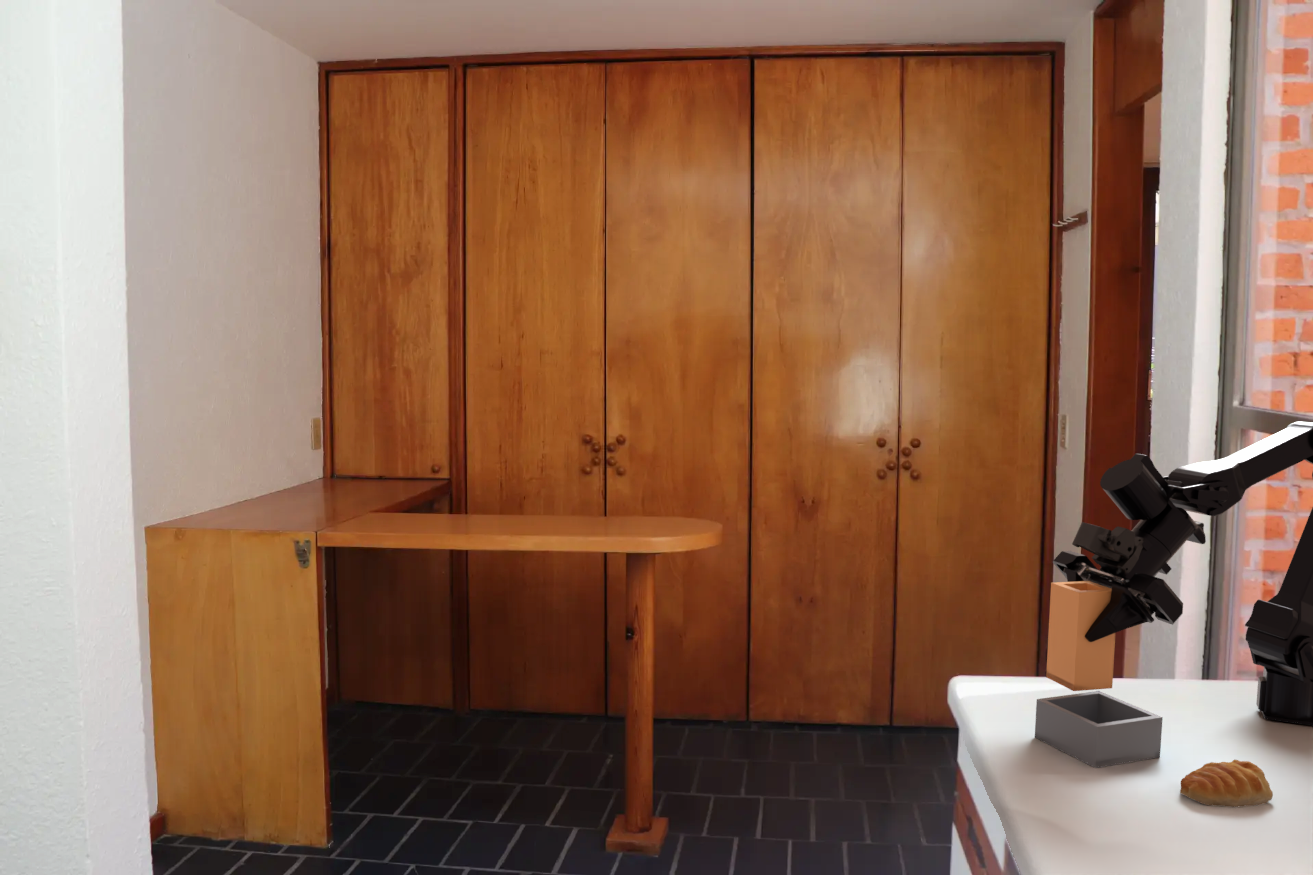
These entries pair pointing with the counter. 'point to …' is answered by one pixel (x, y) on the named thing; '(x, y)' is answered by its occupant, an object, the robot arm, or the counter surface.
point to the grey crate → (1098, 728)
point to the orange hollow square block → (1078, 637)
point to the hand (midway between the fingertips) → (1072, 632)
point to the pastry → (1227, 784)
